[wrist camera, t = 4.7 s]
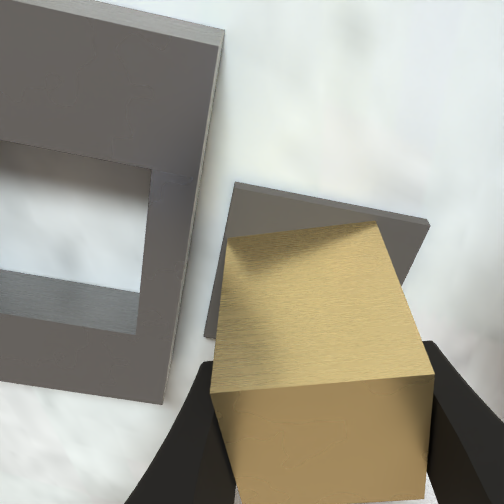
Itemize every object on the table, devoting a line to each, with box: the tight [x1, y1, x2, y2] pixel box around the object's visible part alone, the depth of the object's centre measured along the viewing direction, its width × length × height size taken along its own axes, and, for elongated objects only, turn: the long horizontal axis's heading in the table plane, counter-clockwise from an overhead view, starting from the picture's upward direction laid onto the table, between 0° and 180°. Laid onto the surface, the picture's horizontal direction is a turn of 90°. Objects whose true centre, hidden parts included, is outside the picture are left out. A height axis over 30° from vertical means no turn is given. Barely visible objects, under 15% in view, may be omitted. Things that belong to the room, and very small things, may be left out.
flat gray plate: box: [204, 182, 430, 339], centre depth 16 cm, size 6×6×1 cm
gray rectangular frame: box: [0, 0, 225, 405], centre depth 14 cm, size 8×12×2 cm, turn 168°
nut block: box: [210, 221, 435, 504], centre depth 13 cm, size 4×4×6 cm
